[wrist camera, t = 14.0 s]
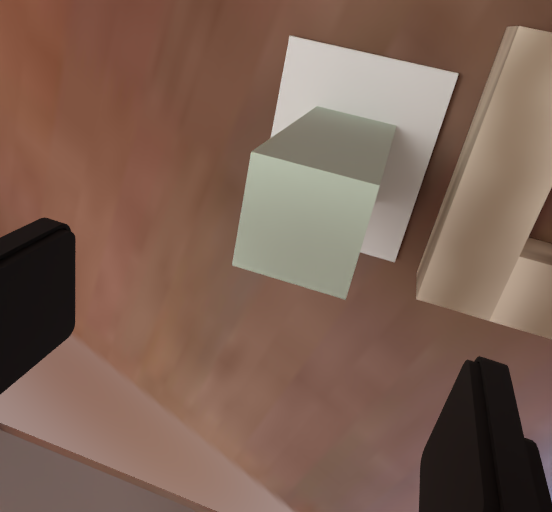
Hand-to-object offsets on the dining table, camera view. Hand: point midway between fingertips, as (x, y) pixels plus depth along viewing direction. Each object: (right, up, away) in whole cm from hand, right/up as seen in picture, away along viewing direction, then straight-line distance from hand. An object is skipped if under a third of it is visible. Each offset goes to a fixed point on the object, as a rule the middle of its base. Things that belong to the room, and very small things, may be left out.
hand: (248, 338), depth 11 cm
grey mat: (+5, +8, +17) cm, 20 cm away
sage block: (+5, +8, +17) cm, 19 cm away
